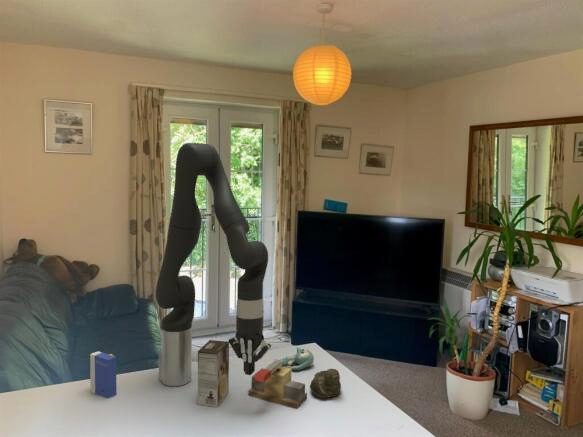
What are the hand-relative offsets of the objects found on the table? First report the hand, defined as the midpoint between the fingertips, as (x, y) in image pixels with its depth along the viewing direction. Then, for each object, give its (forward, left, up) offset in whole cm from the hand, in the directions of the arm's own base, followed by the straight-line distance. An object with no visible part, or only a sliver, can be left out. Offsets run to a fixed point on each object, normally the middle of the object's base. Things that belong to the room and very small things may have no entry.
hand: (249, 373), depth 125 cm
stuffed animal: (0, +32, -11) cm, 34 cm away
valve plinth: (+4, +10, -10) cm, 15 cm away
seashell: (+15, +20, -10) cm, 27 cm away
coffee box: (-12, 0, -10) cm, 16 cm away
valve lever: (+4, +4, -2) cm, 6 cm away
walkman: (-42, -13, -10) cm, 45 cm away
